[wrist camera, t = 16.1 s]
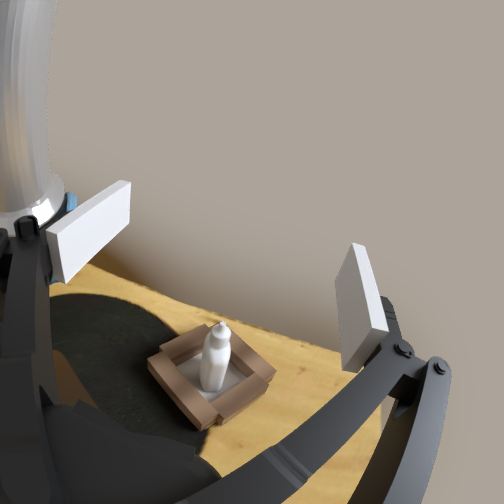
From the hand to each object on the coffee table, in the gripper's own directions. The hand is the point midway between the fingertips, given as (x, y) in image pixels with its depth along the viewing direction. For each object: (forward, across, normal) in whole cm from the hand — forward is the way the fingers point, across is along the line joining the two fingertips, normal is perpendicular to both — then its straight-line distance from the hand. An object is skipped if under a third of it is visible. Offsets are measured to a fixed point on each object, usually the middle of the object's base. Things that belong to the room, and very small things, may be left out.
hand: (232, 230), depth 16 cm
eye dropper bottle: (+10, 0, -30) cm, 31 cm away
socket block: (+10, 0, -30) cm, 32 cm away
